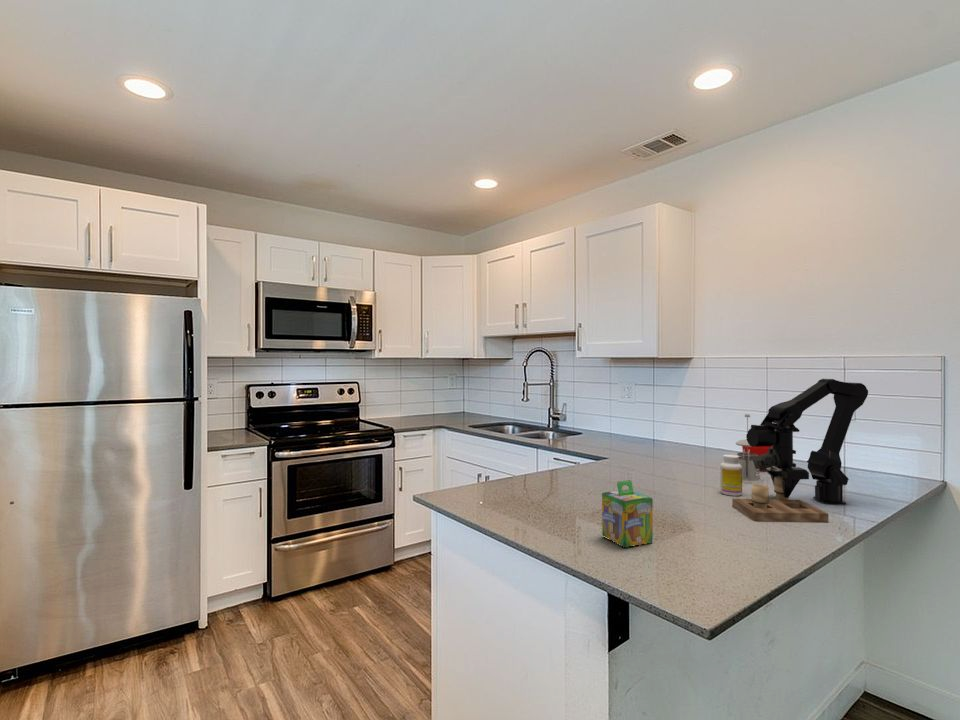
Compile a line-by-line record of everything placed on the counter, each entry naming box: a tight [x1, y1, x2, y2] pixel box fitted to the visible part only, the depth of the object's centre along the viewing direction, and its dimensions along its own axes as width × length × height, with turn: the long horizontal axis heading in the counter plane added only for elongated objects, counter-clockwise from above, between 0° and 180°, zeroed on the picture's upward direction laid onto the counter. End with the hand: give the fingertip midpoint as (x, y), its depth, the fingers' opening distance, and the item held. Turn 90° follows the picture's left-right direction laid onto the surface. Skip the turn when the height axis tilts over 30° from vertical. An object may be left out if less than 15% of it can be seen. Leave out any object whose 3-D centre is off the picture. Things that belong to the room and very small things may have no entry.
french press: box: [735, 413, 763, 484], centre depth 187 cm, size 10×12×25 cm
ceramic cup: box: [741, 446, 772, 472], centre depth 206 cm, size 13×17×10 cm
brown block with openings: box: [731, 484, 830, 523], centre depth 146 cm, size 20×14×8 cm
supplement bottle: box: [719, 454, 743, 497], centre depth 169 cm, size 7×7×13 cm
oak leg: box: [773, 477, 790, 499], centre depth 157 cm, size 4×4×8 cm
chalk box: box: [601, 479, 654, 548], centre depth 126 cm, size 9×9×15 cm
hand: (782, 495), depth 157 cm, fingers closed on oak leg, 4 cm apart
